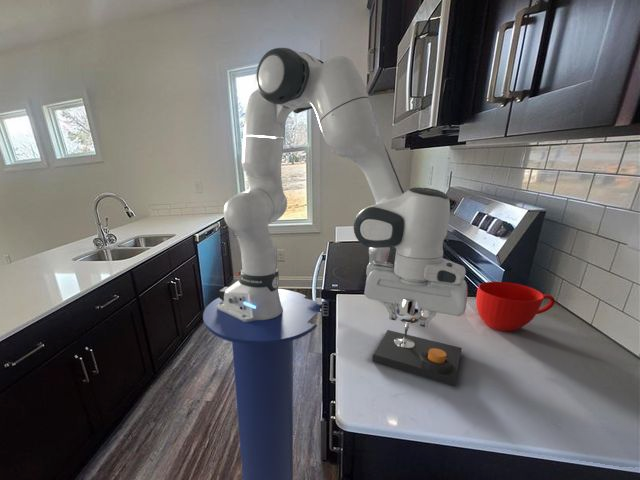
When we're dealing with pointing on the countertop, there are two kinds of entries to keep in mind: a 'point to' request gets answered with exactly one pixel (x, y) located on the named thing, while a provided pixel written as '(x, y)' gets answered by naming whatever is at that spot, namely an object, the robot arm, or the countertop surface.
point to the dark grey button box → (418, 357)
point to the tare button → (437, 355)
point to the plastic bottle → (378, 255)
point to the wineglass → (407, 319)
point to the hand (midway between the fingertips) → (408, 322)
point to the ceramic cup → (509, 304)
